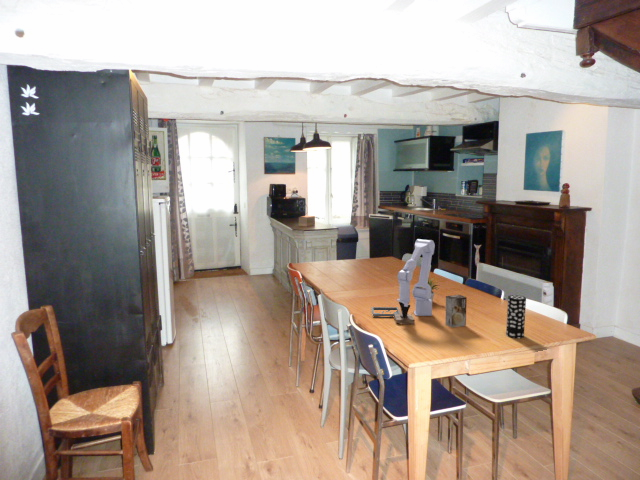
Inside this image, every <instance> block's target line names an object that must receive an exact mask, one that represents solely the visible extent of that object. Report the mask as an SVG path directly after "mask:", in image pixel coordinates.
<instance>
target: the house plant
mask: <svg viewBox="0 0 640 480" xmlns="http://www.w3.org/2000/svg"><path fill="white" fill-rule="evenodd" d="M433 280H434V277H432V278H431V279H430V277H429V278H428V284H429V285H430V287H431V293H432V294H431V298H430V299H431V300H432V303H433V302H434V296H435V292H434V291H433V290H438V289H439V290H440V288H438V286H439V284H436V281H434V282H433ZM420 288H423V287H420ZM424 289H426V288H424Z"/></svg>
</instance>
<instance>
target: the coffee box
mask: <svg viewBox="0 0 640 480" xmlns="http://www.w3.org/2000/svg"><path fill="white" fill-rule="evenodd" d="M467 301H468V300H467V296H464V295H462V294H455V295H454V294H453V295H452V294H451V295H446V296H445V325H446V326H448V327H450V328H459V327H466V326H467Z"/></svg>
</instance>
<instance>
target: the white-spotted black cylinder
mask: <svg viewBox="0 0 640 480" xmlns="http://www.w3.org/2000/svg"><path fill="white" fill-rule="evenodd" d="M526 302H527V297H525V296H523V295H517V294H511V295H508V296H507V311H506V313H507V314H506V332H505V335H506V336H507V337H508V338H512V339H523V338H525V323H526V322H525V321H526V306H527V303H526Z"/></svg>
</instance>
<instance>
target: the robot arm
mask: <svg viewBox="0 0 640 480" xmlns="http://www.w3.org/2000/svg"><path fill="white" fill-rule="evenodd" d="M435 246H436V245H435V242H434V240H432V239H421V238H417V239H416V240H415V243H414V250H413V252H412V255H411V257H410V259H408V260H407V261H406V263H405V264H404V266H403V267H402V269H401V270H400V271H399V270H398V273H397V279H398V280H397V281H398V284H399V291H398V292H399V295H398V297H399V298H397V299H396V301H397V302H398V304H399V307H400V313H401V314H402V315H403V317H407V314H409V309H410V307H411V305H410V304H409V303H410V302H411V299H410V297H411V295H410V294H411V293H412V297H413V299H414V300H415V303H414V304H415V309H414V311H413V313H414V315H415V316H416V317H417V316H418V317H419V316H420V317H421V316H422V317H424V316H426V317H427V316H429V317H431V316H433V302H432V300H431V299H430V298H431V294H432V293H431V291H432V290H431V287H430V285H429V284H428V278H429V279H430V271H431V263H432V259H433V257H432V256H433V255H434V254H435ZM421 256H422V258H421V265H420V270H419V271H420V273H419V278H418V282H417V283H415V284H414V287H413V289H412V292H411V282H412V280H413V275H414V272H415V269H416V267H417V261H418V260H419V259H420V257H421ZM420 287H423V288H420ZM424 288H425V289H424Z"/></svg>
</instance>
